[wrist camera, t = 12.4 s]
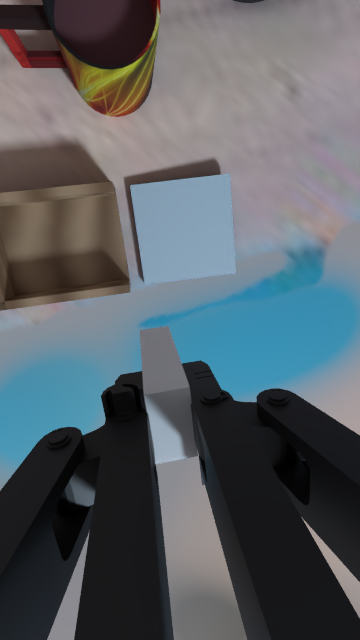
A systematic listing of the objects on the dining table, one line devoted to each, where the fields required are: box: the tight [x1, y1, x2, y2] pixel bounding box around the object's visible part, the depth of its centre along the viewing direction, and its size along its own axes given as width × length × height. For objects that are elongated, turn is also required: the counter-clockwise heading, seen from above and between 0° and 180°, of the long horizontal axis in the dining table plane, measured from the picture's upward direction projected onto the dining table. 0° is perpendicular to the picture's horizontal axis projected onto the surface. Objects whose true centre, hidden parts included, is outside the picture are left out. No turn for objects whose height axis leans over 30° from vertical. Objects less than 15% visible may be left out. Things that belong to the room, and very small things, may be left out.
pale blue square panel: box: [130, 174, 236, 284], centre depth 42 cm, size 13×13×1 cm
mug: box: [0, 0, 160, 117], centre depth 31 cm, size 10×14×12 cm
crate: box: [0, 181, 130, 310], centre depth 39 cm, size 16×13×6 cm
